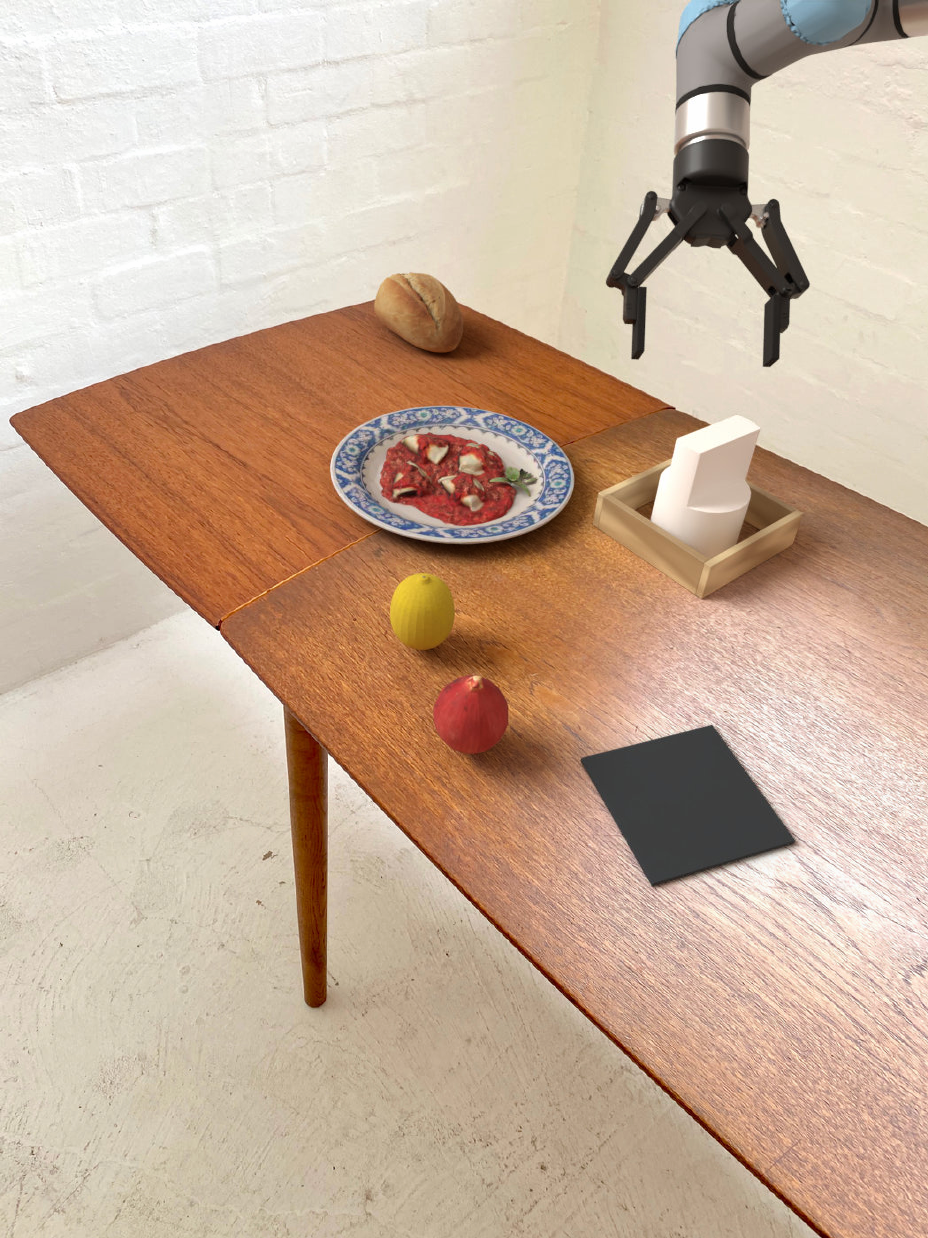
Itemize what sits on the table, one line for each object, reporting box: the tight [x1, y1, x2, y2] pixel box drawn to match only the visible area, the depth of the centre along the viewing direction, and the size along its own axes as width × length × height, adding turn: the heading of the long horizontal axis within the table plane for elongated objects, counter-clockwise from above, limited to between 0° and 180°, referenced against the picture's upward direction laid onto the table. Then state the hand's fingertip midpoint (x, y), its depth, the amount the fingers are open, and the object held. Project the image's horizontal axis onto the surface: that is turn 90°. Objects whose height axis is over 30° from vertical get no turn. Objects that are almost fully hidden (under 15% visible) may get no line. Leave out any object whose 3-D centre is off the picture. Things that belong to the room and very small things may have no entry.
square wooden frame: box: [592, 457, 804, 600], centre depth 100 cm, size 15×15×4 cm
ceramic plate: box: [329, 405, 575, 545], centre depth 104 cm, size 26×26×3 cm
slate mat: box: [580, 724, 796, 887], centre depth 75 cm, size 12×12×1 cm
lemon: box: [389, 572, 456, 651], centre depth 83 cm, size 6×6×8 cm
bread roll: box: [373, 272, 464, 353], centre depth 128 cm, size 10×15×8 cm, turn 37°
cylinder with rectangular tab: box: [649, 414, 761, 559], centre depth 97 cm, size 9×9×12 cm
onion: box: [432, 674, 509, 755], centre depth 75 cm, size 6×6×8 cm
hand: (704, 359), depth 99 cm, fingers open, 13 cm apart
